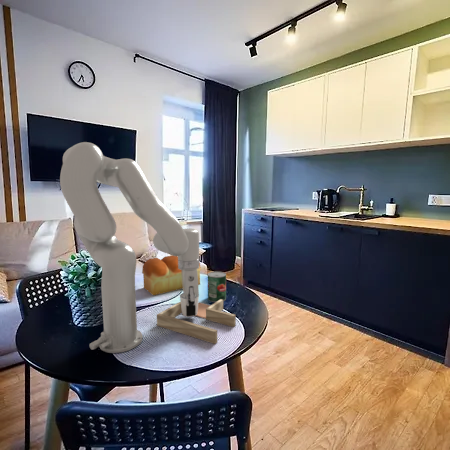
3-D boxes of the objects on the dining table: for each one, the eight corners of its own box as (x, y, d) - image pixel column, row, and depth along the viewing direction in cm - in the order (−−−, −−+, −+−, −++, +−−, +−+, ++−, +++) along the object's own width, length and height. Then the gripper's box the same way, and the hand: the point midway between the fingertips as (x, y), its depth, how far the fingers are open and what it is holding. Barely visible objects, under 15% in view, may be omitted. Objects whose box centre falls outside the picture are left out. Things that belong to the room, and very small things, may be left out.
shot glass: (198, 317, 99) (197, 298, 99) (178, 317, 100) (178, 298, 99) (200, 309, 106) (199, 291, 105) (182, 309, 106) (181, 291, 105)
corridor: (215, 344, 86) (215, 331, 86) (157, 325, 98) (156, 314, 97) (247, 315, 106) (247, 305, 105) (195, 302, 118) (195, 293, 117)
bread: (188, 278, 150) (188, 250, 148) (201, 284, 140) (200, 255, 138) (142, 288, 135) (141, 257, 133) (152, 296, 125) (151, 263, 123)
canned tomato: (208, 295, 126) (208, 271, 124) (226, 295, 125) (226, 271, 124) (206, 302, 118) (206, 276, 117) (225, 302, 118) (225, 277, 116)
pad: (205, 318, 103) (205, 317, 103) (183, 312, 108) (183, 311, 108) (219, 308, 112) (219, 307, 112) (198, 303, 117) (198, 302, 117)
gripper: (203, 269, 93) (204, 321, 96) (195, 257, 110) (196, 301, 112) (180, 271, 91) (182, 324, 94) (175, 258, 108) (177, 303, 110)
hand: (189, 311), depth 103 cm, fingers closed on shot glass, 5 cm apart
